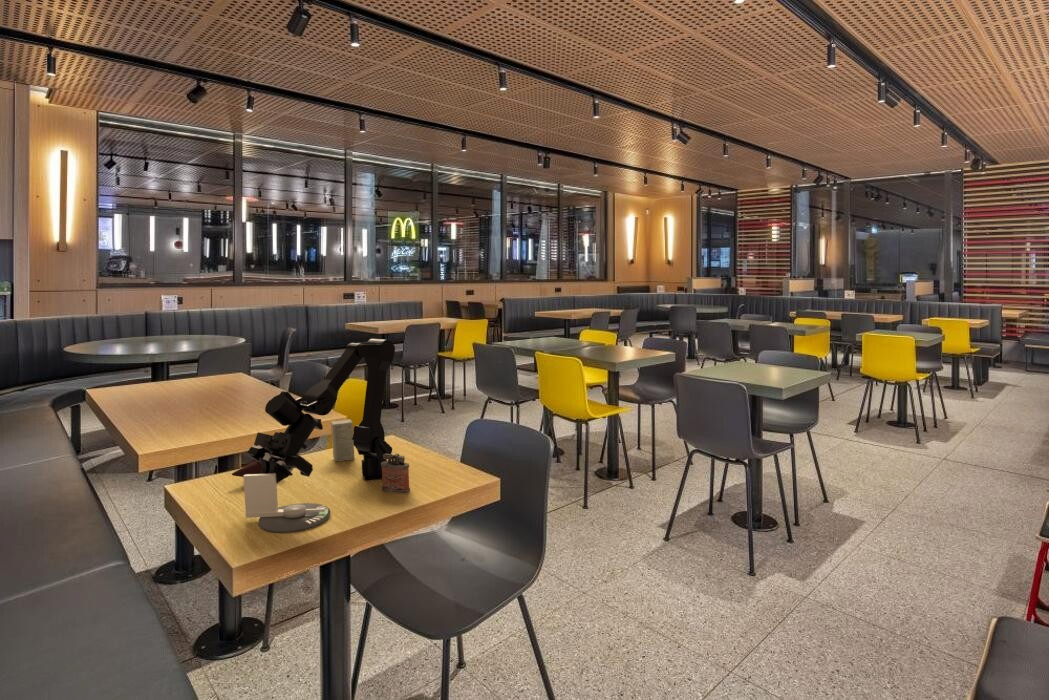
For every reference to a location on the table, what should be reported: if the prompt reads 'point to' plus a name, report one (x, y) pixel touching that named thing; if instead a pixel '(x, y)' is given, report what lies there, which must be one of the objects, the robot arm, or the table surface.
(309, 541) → the table surface
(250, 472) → the maroon gnome figurine
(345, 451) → the skincare box
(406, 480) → the lighter
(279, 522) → the tuner dial
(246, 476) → the rotary selector knob
